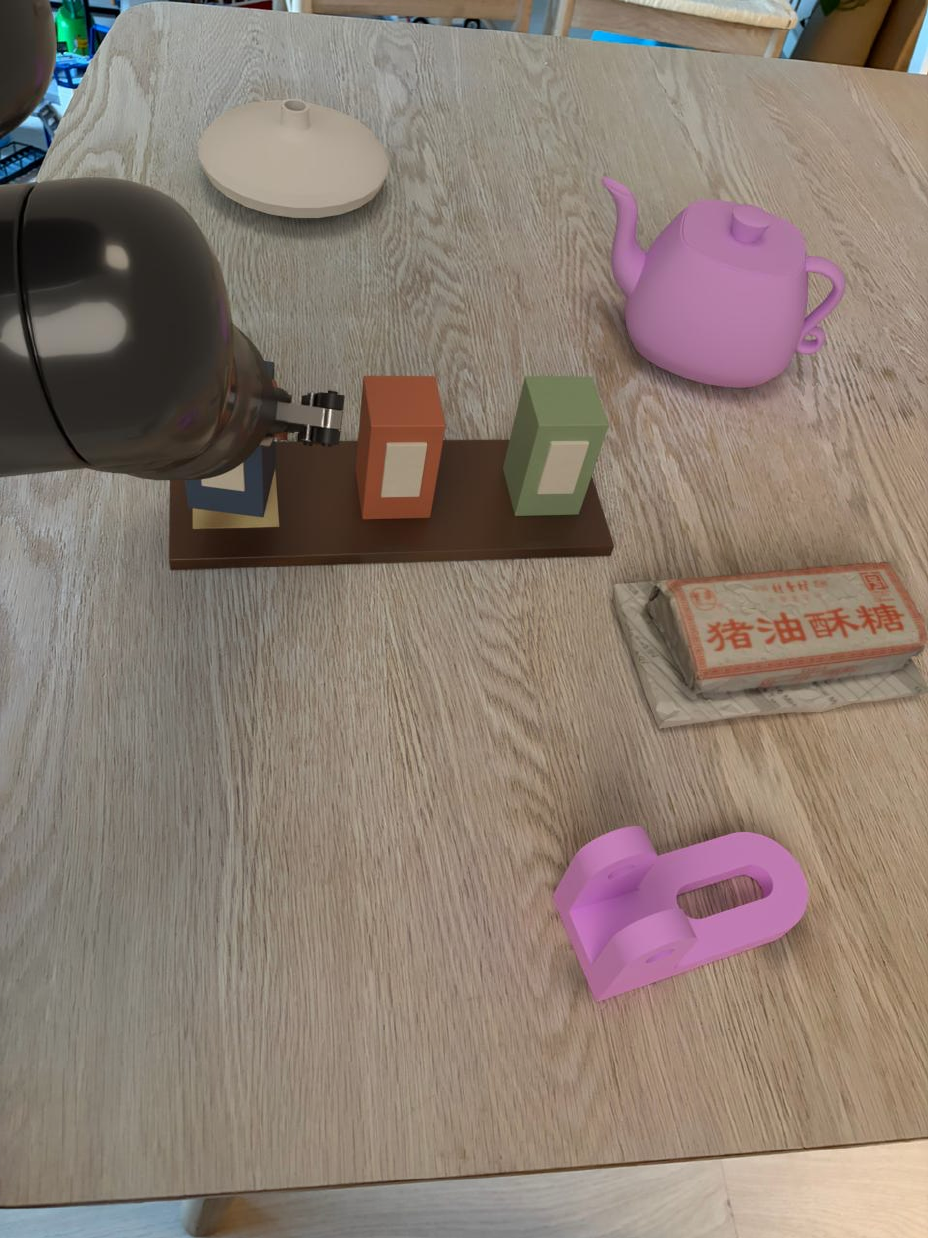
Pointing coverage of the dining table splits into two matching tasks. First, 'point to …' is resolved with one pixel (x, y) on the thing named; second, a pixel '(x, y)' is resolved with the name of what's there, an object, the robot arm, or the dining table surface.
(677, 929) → the bracket
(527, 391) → the green block
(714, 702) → the packaged product
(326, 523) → the brown board
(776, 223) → the teapot
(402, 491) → the orange block
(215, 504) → the navy box with label
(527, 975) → the dining table surface
